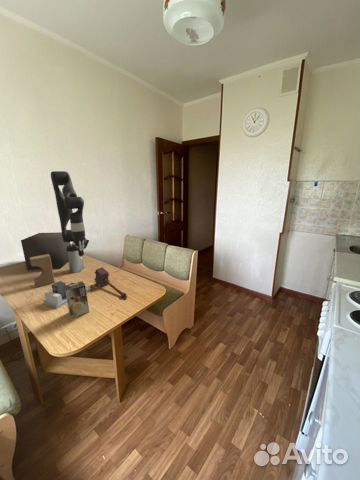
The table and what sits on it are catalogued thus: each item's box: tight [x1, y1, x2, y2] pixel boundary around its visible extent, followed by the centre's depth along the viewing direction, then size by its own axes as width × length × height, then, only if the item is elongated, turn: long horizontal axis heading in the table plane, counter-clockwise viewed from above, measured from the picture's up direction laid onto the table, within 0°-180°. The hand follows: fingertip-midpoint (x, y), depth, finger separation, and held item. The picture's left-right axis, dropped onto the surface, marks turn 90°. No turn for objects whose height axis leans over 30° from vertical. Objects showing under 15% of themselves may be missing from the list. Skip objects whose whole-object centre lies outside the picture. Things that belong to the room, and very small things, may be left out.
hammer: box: [93, 267, 128, 299], centre depth 129 cm, size 7×33×10 cm, turn 49°
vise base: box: [42, 285, 91, 309], centre depth 122 cm, size 23×12×6 cm, turn 156°
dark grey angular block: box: [20, 231, 71, 271], centre depth 171 cm, size 25×25×25 cm
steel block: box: [51, 281, 67, 299], centre depth 117 cm, size 5×5×9 cm
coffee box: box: [64, 280, 90, 319], centre depth 105 cm, size 9×6×16 cm
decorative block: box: [29, 254, 56, 289], centre depth 136 cm, size 11×6×20 cm, turn 130°
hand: (81, 255), depth 129 cm, fingers closed
